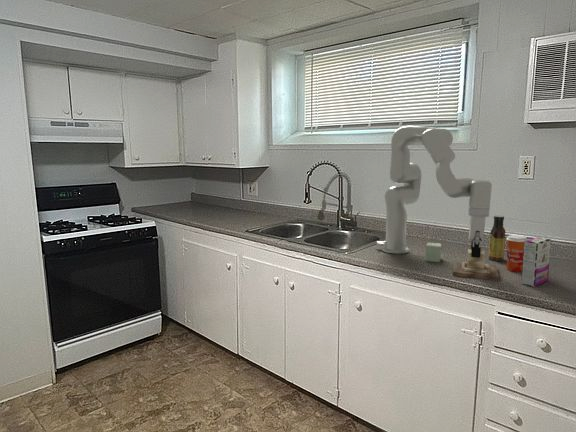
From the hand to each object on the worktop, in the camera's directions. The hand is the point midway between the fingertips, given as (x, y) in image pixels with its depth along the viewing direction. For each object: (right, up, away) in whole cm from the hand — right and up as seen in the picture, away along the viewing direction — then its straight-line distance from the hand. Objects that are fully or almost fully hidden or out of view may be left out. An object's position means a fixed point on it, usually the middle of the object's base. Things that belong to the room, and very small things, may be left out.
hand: (475, 254), depth 167 cm
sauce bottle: (+18, -4, +19) cm, 27 cm away
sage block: (-10, -4, +20) cm, 23 cm away
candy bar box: (+16, -10, -12) cm, 23 cm away
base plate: (0, -7, +1) cm, 8 cm away
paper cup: (+18, -7, +3) cm, 19 cm away
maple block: (0, -6, +1) cm, 6 cm away
